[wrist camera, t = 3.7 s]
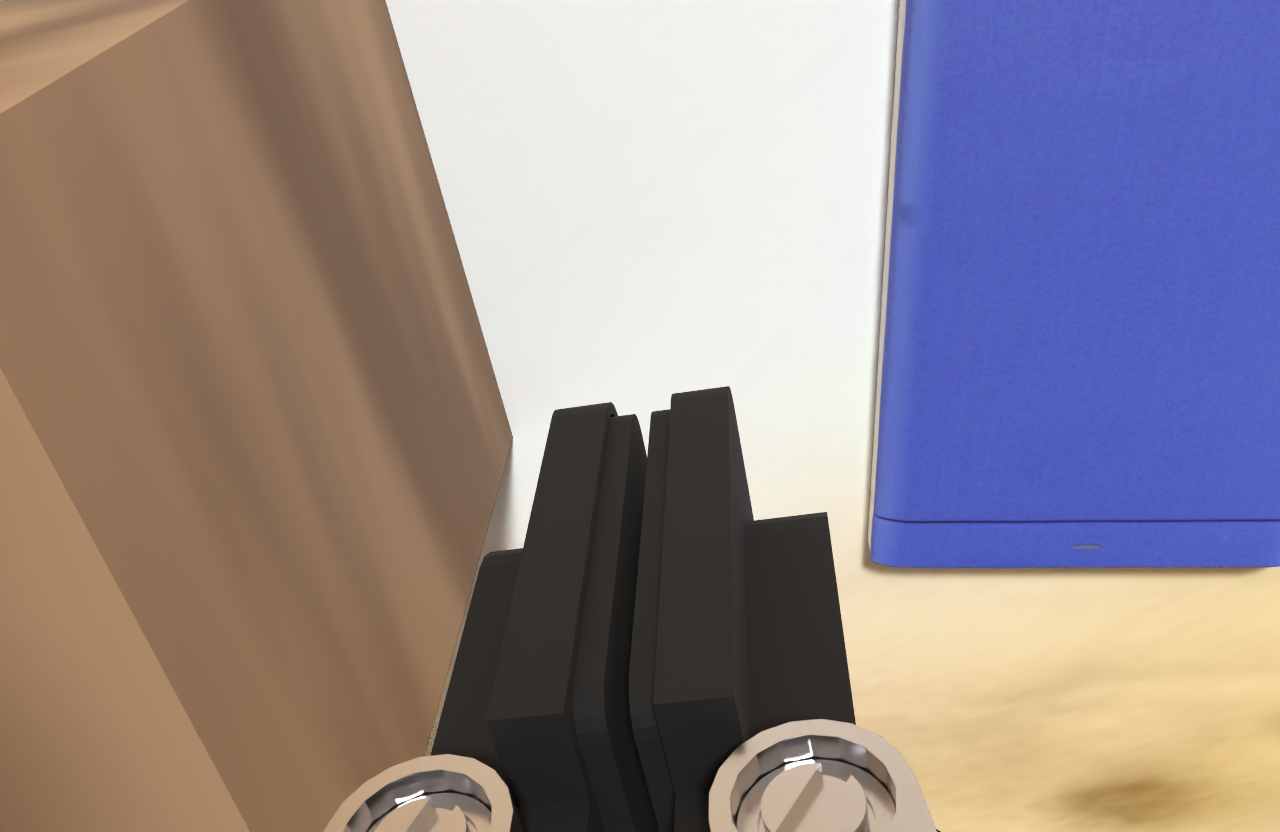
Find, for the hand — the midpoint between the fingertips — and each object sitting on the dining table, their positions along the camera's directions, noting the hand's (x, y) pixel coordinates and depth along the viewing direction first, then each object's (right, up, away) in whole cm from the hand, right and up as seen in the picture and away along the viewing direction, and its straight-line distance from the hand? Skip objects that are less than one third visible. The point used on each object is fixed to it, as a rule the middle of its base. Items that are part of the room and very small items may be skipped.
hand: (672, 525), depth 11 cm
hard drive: (+8, +4, +10) cm, 13 cm away
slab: (-6, +5, +10) cm, 12 cm away
